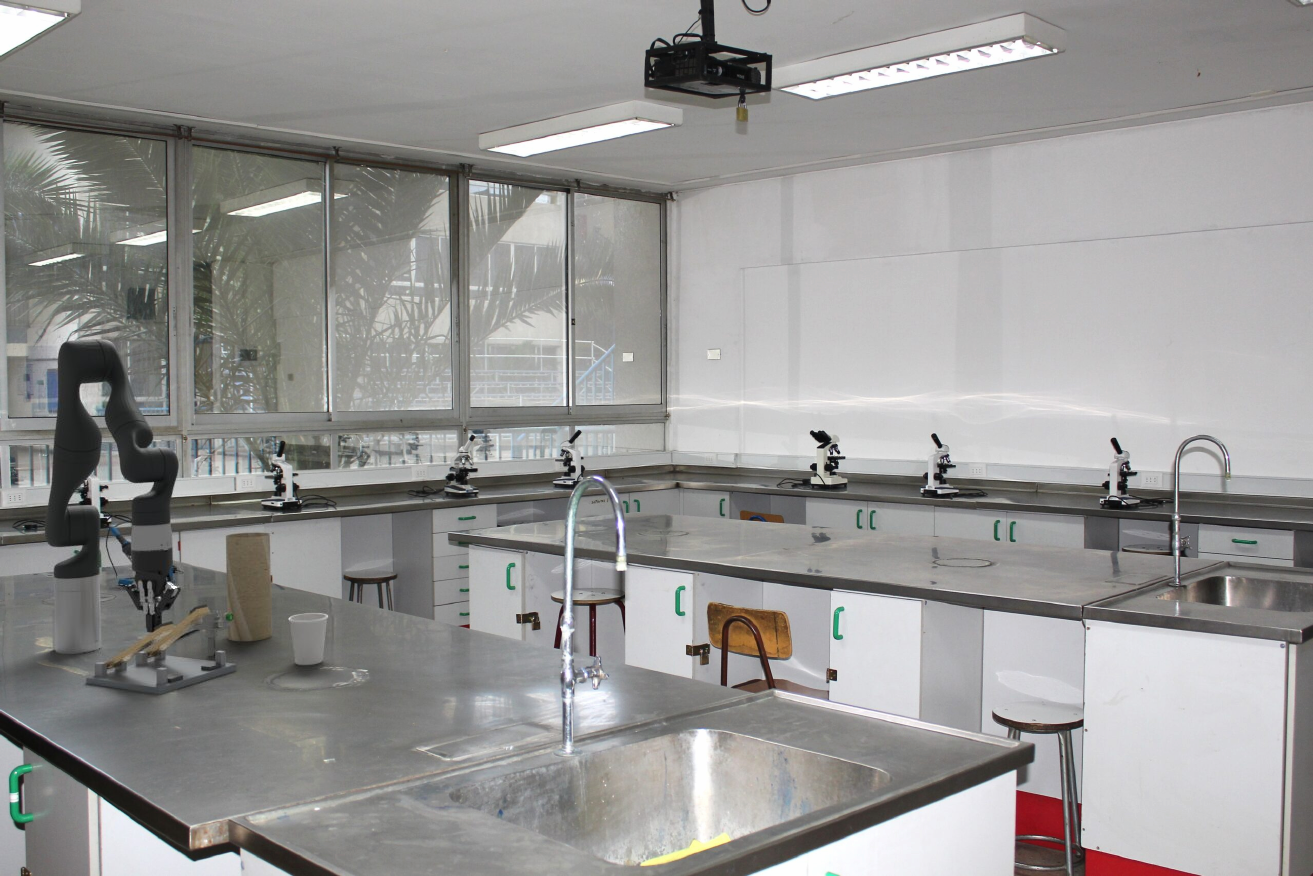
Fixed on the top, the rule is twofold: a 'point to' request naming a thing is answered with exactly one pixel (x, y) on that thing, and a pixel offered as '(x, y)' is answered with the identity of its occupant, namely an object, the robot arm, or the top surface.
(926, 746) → the top surface
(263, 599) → the tube
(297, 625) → the dixie cup
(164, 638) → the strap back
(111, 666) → the strap front
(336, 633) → the top surface
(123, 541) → the soldering iron
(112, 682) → the mount plate
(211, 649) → the mechanical component
